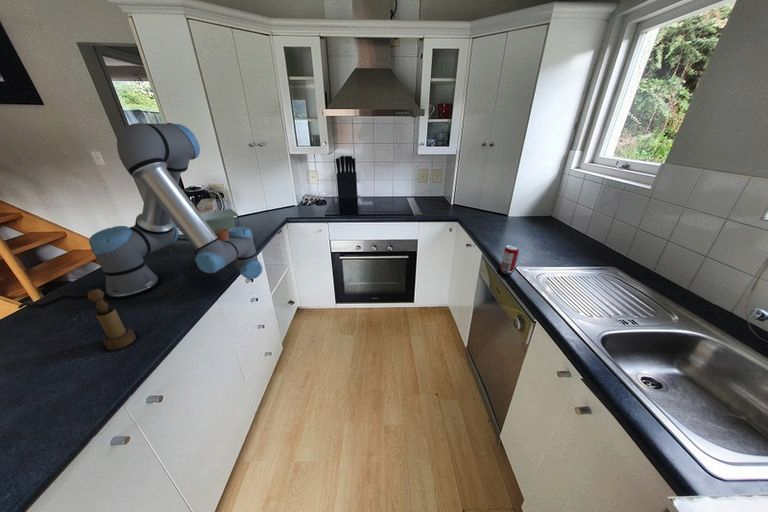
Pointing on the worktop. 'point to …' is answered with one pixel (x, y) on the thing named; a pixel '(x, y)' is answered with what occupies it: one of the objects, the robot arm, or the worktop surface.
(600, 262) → the worktop surface
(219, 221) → the pale green box
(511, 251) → the soda can
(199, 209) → the coffeecake box
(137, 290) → the robot arm
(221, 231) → the reddish-brown upright block
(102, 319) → the brown tall wooden piece
